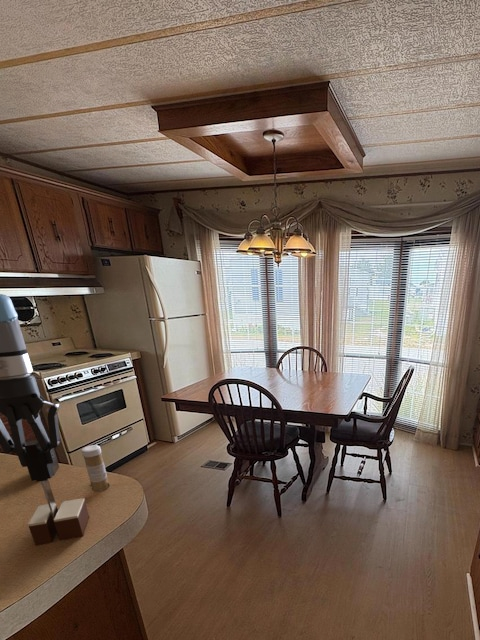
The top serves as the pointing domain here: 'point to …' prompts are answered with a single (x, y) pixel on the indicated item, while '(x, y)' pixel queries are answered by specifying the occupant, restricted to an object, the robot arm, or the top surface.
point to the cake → (71, 519)
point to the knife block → (55, 463)
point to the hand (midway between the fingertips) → (43, 476)
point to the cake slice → (42, 525)
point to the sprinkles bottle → (95, 467)
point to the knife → (40, 473)
